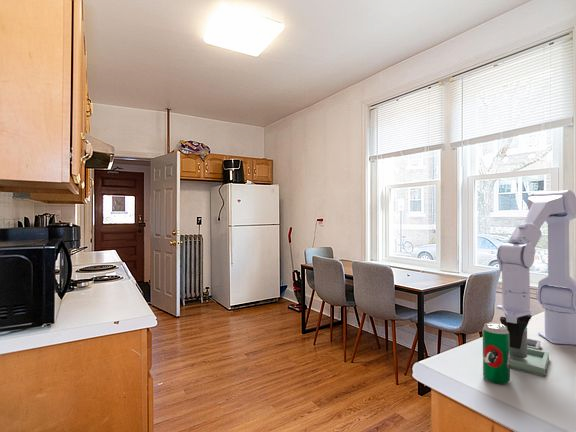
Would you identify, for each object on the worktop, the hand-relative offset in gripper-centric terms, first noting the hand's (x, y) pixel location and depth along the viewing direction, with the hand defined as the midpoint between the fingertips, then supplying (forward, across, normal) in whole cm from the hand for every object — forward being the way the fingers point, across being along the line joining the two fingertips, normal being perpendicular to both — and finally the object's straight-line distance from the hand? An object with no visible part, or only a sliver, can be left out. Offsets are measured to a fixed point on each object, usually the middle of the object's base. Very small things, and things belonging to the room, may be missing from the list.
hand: (516, 344), depth 81 cm
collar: (+4, -12, 0) cm, 12 cm away
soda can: (+4, +15, -2) cm, 16 cm away
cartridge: (+2, 0, 0) cm, 2 cm away
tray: (+4, 0, 0) cm, 4 cm away
